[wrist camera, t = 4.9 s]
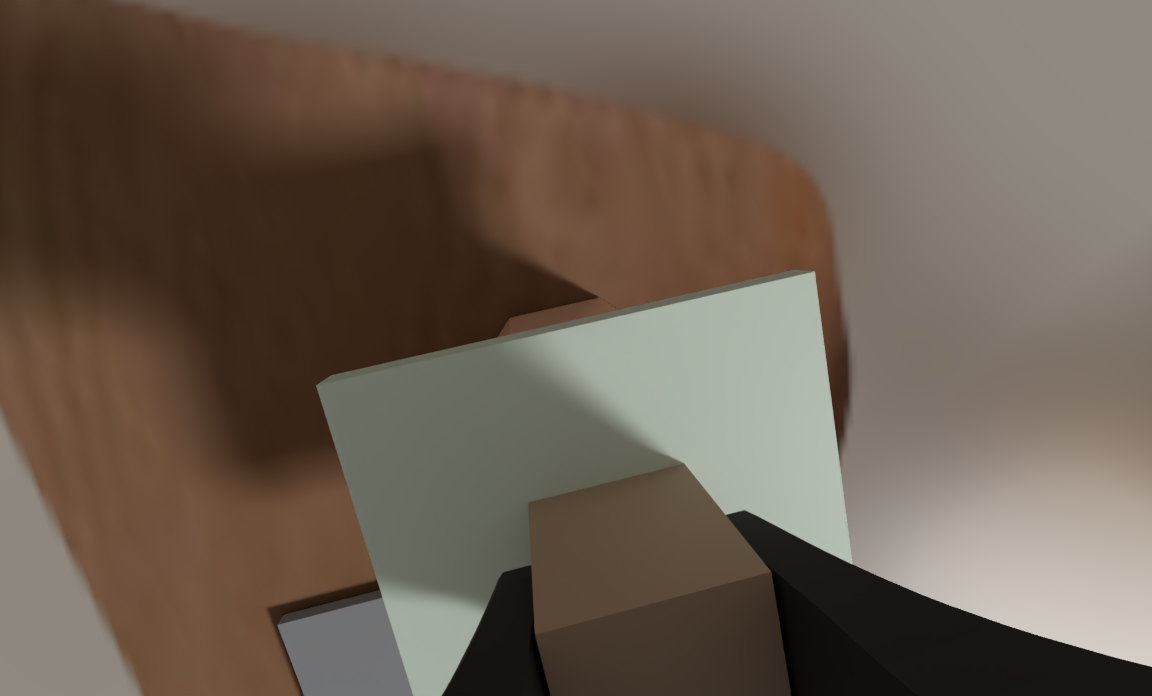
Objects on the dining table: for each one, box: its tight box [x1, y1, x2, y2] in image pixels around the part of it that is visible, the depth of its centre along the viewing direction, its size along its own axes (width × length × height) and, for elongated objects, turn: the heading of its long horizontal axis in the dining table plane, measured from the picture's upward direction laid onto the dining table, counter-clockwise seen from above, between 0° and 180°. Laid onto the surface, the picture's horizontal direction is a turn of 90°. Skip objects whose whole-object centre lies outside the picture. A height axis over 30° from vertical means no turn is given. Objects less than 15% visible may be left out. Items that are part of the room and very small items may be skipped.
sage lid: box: [316, 270, 852, 696], centre depth 9 cm, size 9×9×4 cm
